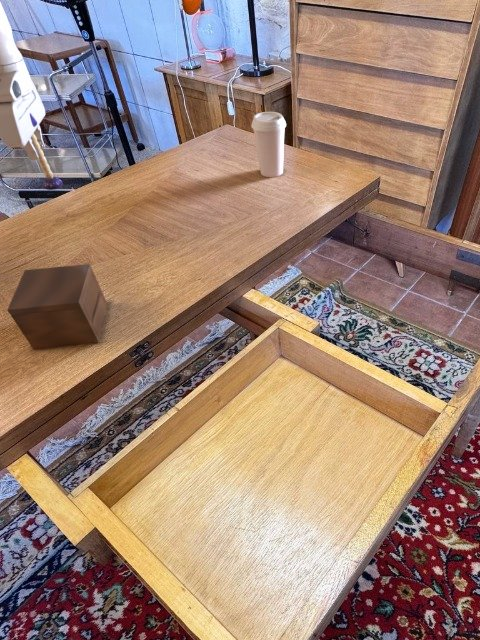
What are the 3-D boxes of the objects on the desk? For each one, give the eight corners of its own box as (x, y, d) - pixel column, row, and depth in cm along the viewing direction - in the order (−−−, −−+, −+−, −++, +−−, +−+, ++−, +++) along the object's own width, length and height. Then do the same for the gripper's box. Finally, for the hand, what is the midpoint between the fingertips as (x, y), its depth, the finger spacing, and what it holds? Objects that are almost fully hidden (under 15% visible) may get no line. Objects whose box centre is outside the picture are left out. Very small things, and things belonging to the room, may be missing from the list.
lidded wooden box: (35, 352, 83) (6, 309, 75) (49, 312, 91) (24, 270, 83) (100, 344, 84) (78, 302, 76) (108, 305, 92) (89, 263, 84)
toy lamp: (53, 192, 101) (17, 108, 88) (37, 189, 102) (-1, 106, 89) (67, 183, 104) (34, 101, 91) (51, 180, 105) (16, 99, 92)
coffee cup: (264, 184, 126) (260, 125, 115) (250, 171, 132) (244, 114, 120) (293, 176, 129) (292, 118, 118) (278, 164, 134) (275, 108, 123)
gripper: (4, 65, 93) (34, 136, 104) (-28, 95, 80) (10, 174, 91) (35, 63, 94) (62, 135, 105) (8, 93, 81) (42, 172, 91)
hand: (38, 153), depth 98 cm, fingers closed on toy lamp, 4 cm apart
